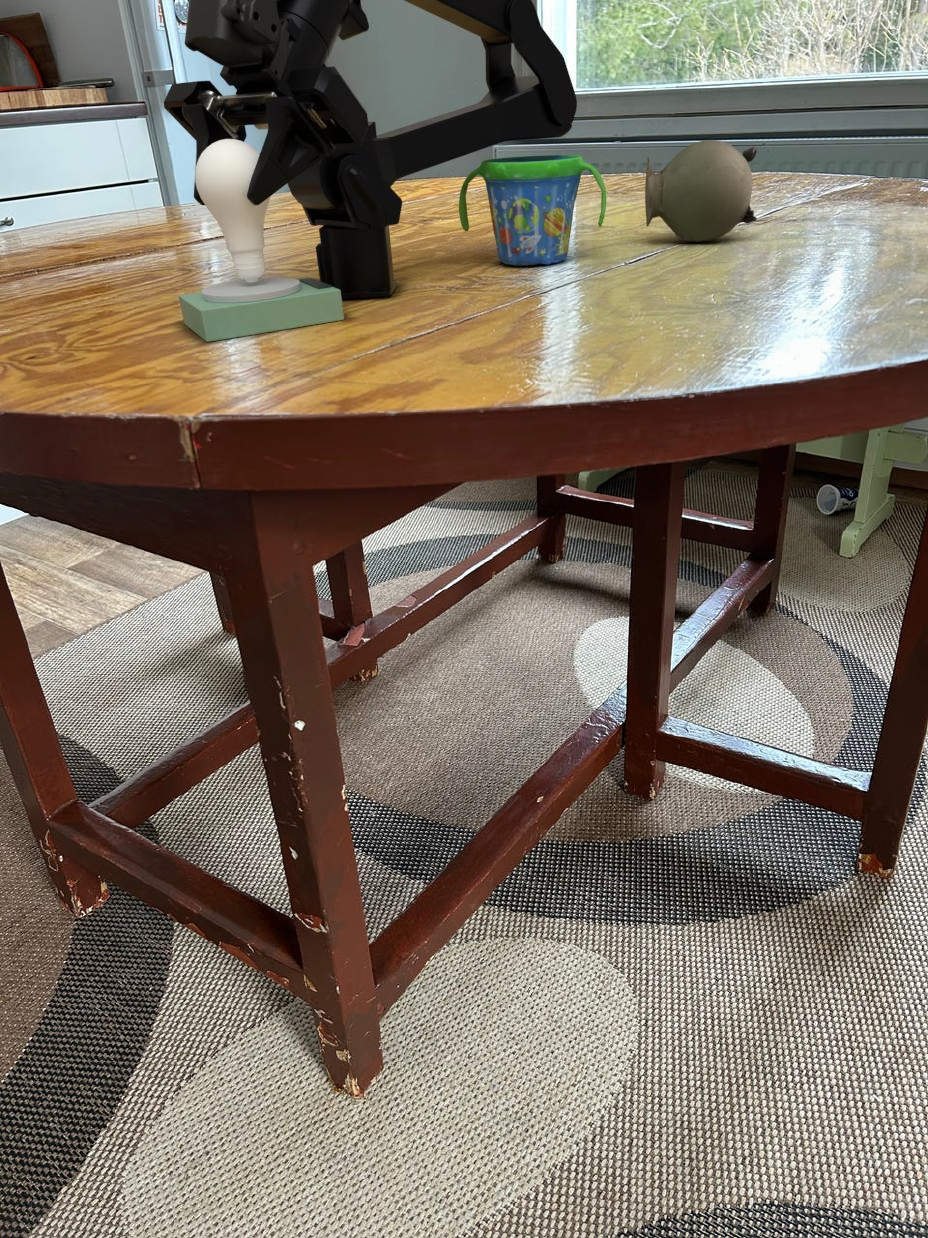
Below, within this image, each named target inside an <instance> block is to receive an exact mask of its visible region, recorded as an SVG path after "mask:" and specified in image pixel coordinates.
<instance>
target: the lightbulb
mask: <svg viewBox="0 0 928 1238" xmlns="http://www.w3.org/2000/svg"><path fill="white" fill-rule="evenodd" d="M259 155H260V152H259V151H258V150H257V149H256V148H255V147H253V146H252V145H251V144H249V143H247V142H245V141H244V142H243V141H240V140H235V139H224V140H219V141H217V142H214V143H212V144H211V145H210V146H208V147H207V148H206V149H205V150H204V151H203V152H202V154H201V156H200V157H199V159H198V162H197V165H196V164H195V167H196V171H194V183H195V182H196V187H197V190H198V193H199V195H200V197H201V199H202V201H203V202H204V204H205V205H204V206H205V207H206V209H207V210H208V211H209V212H210V214H211V216H212V217H213V218H214V219H215V221H216V222H217V224H218V227H219V228H220V230H221V233H222V235H223V238H224V241H225V246H226V249H227V252H229V253H230V254H231V259H232V264H233V268H234V271H235V275H236V277H237V278H239V279H241V280H243V279H244V280H245V281H246V282H248V283H255V282H257V281H258V280H259V278H262V276H265V273H266V265H265V264H266V263H265V258H264V256H265V255H264V248H265V236H264V233H265V232H264V228H265V227H264V224H265V218H266V213H267V211H268V207H269V205H270V200H271V196H270V197H269V198H267V199H266V200H265V201H263V202H262V203H261V204H260V205H253V204H252V203H251V202H250V201H249V200H248V198H247V193H248V189H249V185H250V181H251V178H252V175H253V172H254V169H255V166H256V164H257V161H258V158H259Z"/></svg>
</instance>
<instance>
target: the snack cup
mask: <svg viewBox="0 0 928 1238" xmlns="http://www.w3.org/2000/svg"><path fill="white" fill-rule="evenodd" d="M586 170H588V171H589V172H590V173H591V174H592V177H593V179H595V182H596V184H597V186H598V187H599V189H600V192H601V197H600V199H601V200H600V214H599V218H598V221H597V222H598V223H597V225H598V227H599V228H601V227H602V226H603V222H604V219H605V215H606V210H607V209H606V207H607V206H606V205H607V191H606V185H605V182H604V179H603V177H602V175H601V173H600V172H599V171H598V169H597V168H596V167H595V166H593V165H592V164H590V163H589V162H586V161H584V159H583V156H581V155H578V154H577V155H576V154H555V155H553V154H552V155H550V154H549V155H547V154H545V155H528V156H527V155H526V156H525V155H524V156H509V157H499V158H490V159H486V160H483V161H481V163H480V165H479V167H477V168H475V169H473V170H472V171H471V172H469V174H468V175H467V176H466V177H465V179H464V181H463V182H462V186H461V189H460V192H459V197H458V214H459V222H460V224H461V228H462V229H463V232H469V230H470V222H469V217H468V205H467V192H468V189H469V184H470V183H471V182H472V181H473V180H474V179H475V178H476V177H477V176H481V177H482V178H483V180H484V182H485V186H486V187H485V189H486V193H487V198H488V199H487V200H488V204H489V205H488V206H489V211H490V218H491V224H492V225H491V226H492V231H493V235H494V239H495V240H494V241H495V245H496V246H495V247H496V248H495V249H496V254H497V258H498V261H499V262H502V263H503V264H505V265H509V266H536V265H550V264H557V263H560V262H562V261H565V260H567V257H568V253H569V249H570V239H571V233H572V226H573V219H574V210H575V204H576V200H577V196H578V191H579V186H580V182H581V179H582V178H581V177H582V173H583V171H586Z"/></svg>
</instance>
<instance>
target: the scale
mask: <svg viewBox="0 0 928 1238" xmlns="http://www.w3.org/2000/svg"><path fill="white" fill-rule="evenodd" d="M178 301H179V306H180V311H181V314H182V319H183V324H184V325H185V326H186V327H187V328H189V329H190V330H191V331H192V332H194V333H195V334H196V335H197V336H198V337H200V338H201V339H203V340H204V341H205V342H206V343H211V342H217V341H222V340H223V341H224V340H228V339H229V340H230V339H235V338H241V337H248V336H253V335H259V334H265V333H273V332H279V331H285V330H290V329H297V328H302V327H307V326H314V325H320V324H326V323H333V322H339V321H344V320H345V315H344V308H343V307H344V306H343V299H342V298H341V290H339V289H337V288H334V287H332V286H331V285H329V284H326V283H324V282H321V281H320V280H318V279H316V278H313V277H308V276H304V277H297V278H294V277H283V276H271V277H269V276H268V277H259V280H258V281H257V282H255V283H248V282H246V281H245V280H244V279H237V280H231V281H225V282H220V283H216V284H212V285H209V286H207V287H205V288H203V289H202V290H201V291H199V292H192V293H191V292H190V293H185V294H179V295H178Z"/></svg>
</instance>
